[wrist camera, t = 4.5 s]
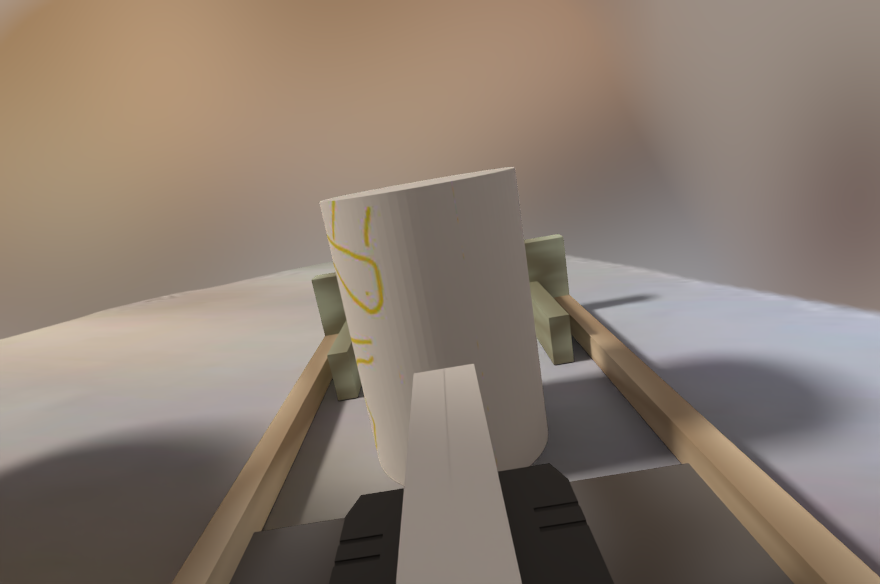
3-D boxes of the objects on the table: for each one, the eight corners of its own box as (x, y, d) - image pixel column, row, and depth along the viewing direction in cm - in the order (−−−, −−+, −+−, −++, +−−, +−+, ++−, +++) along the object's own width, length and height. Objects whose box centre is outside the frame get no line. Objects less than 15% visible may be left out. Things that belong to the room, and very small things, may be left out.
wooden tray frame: (20, 927, 9) (-127, 695, 8) (333, 346, 39) (316, 275, 37) (1030, 784, 9) (1086, 507, 7) (565, 307, 38) (557, 234, 37)
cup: (386, 408, 27) (339, 195, 24) (528, 384, 27) (499, 167, 24) (368, 507, 19) (295, 208, 16) (570, 475, 19) (534, 166, 16)
